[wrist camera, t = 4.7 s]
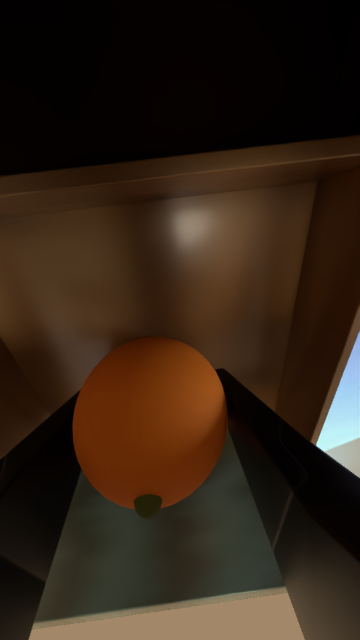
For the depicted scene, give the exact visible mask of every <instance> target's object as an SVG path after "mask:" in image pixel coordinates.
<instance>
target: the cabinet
mask: <svg viewBox="0 0 360 640" xmlns="http://www.w3.org/2000/svg"><path fill="white" fill-rule="evenodd" d="M358 134H360V0H0V176H1V175H10V174H19V173H27V172H36V171H45V170H54V169H62V168H71V167H80V166H88V165H97V164H106V163H114V162H123V161H132V160H141V159H149V158H158V157H167V156H175V155H184V154H193V153H201V152H210V151H219V150H228V149H236V148H245V147H254V146H262V145H271V144H280V143H288V142H297V141H306V140H315V139H323V138H332V137H341V136H349V135H358Z"/></svg>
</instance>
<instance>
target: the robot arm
mask: <svg viewBox="0 0 360 640" xmlns="http://www.w3.org/2000/svg"><path fill="white" fill-rule="evenodd" d="M215 371H216V373H217V375H218V377H219V379H220V381H221V384H222V386H223V390H224V393H225V397H226V401H227V410H228V426H227V427H228V430H229V433H230V436H231V438H232V441H233V444H234V447H235V449H236V452H237V455H238V458H239V460H240V463H241V466H242V468H243V471H244V474H245V477H246V479H247V482H248V485H249V488H250V490H251V493H252V496H253V499H254V501H255V504H256V507H257V509H258V512H259V515H260V518H261V520H262V523H263V526H264V529H265V531H266V534H267V537H268V540H269V542H270V545H271V548H272V550H273V553H274V556H275V559H276V562H277V564H278V567H279V570H280V573H281V575H282V578H283V581H284V583H285V586H286V589H287V592H288V594H289V597H290V599H291V602H292V605H293V608H294V611H295V614H296V616H297V619H298V622H299V624H300V627H301V630H302V632H303V635H304V638H305V640H360V478H359V477H357V476H356V475H355V474H353V473H352V472H351V471H349V470H348V469H347V468H345V467H344V466H342V465H341V464H340V463H338V462H337V461H336V460H334V459H333V458H332V457H330V456H329V455H328V454H326V453H325V452H323V451H322V450H321V449H319V448H318V447H317V446H316V445H314V444H313V443H312V442H310V441H309V440H308V439H306V438H305V437H304V436H303V435H301V434H300V433H299V432H298V431H297V430H295V429H294V428H293V427H292V426H291V425H289V424H288V423H287V422H286V421H285V420H283V419H282V418H281V417H280V416H279V415H278V414H276V413H275V412H274V411H273V410H272V409H271V408H269V407H268V406H267V405H266V404H265V403H264V402H263V401H261V400H260V399H259V398H258V397H257V396H256V395H254V394H253V393H252V392H251V391H250V390H249V389H247V388H246V387H245V386H244V385H243V384H242V383H240V382H239V381H238V380H237V379H236V378H235V377H233V376H232V375H231V374H230V373H229V372H228V371H227V370H225V369H224V368H219V369H216V370H215ZM80 391H81V389H80V390H79V391H78V392H77V393H76V394H75V395H74V396H72V397H71V398H70V399H69V400H68V401H67V402H65V403H64V404H63V405H62V406H61V407H60V408H59V409H57V410H56V411H55V412H54V413H53V414H52V415H50V416H49V417H48V418H47V419H46V420H45V421H44V422H42V423H41V424H40V425H39V426H38V427H37V428H36V429H34V430H33V431H32V432H31V433H30V434H29V435H27V436H26V437H25V438H24V439H23V440H22V441H21V442H19V443H18V444H17V445H16V446H15V447H14V448H12V449H11V450H10V451H9V452H8V453H7V454H6V455H5V456H3V457H2V458H1V459H0V640H28V639H29V636H30V633H31V630H32V627H33V624H34V620H35V617H36V614H37V611H38V608H39V604H40V601H41V598H42V595H43V592H44V588H45V585H46V581H47V578H48V575H49V572H50V569H51V566H52V562H53V559H54V556H55V553H56V550H57V546H58V543H59V540H60V537H61V534H62V530H63V527H64V524H65V521H66V518H67V514H68V511H69V508H70V505H71V502H72V498H73V495H74V492H75V489H76V486H77V483H78V479H79V476H80V473H81V470H82V469H81V467H80V464H79V462H78V460H77V456H76V452H75V448H74V444H73V426H72V425H73V416H74V410H75V406H76V402H77V398H78V396H79V393H80Z"/></svg>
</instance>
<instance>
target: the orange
mask: <svg viewBox="0 0 360 640" xmlns="http://www.w3.org/2000/svg"><path fill="white" fill-rule="evenodd" d="M72 426H73V444H74V448H75V452H76V456H77V460H78V462H79V464H80V467H81V469H82V471H83V473H84V475H85V476H86V478H87V479H88V481H89V482H90V483H91V485H92V486H93V487H94V488H95V489H96V490H97V491H98V492H99V493H100V494H102V495H103V496H104V497H105V498H107V499H108V500H110V501H112V502H114V503H116V504H118V505H120V506H122V507H126V508H130V509H135V510H136V512H137V514H138V515H139V516H140V517H141V518H144V519H149V518H152V517H154V516H155V515H156V514H157V513H158V511H159V510H160V508H164V507H167V506H170V505H173V504H175V503H177V502H179V501H181V500H182V499H184V498H186V497H187V496H189V495H190V494H192V493H193V492H194V491H195V490H196V489H197V488H198V487H199V486H200V485H201V484H202V483H203V482H204V481H205V480H206V478H207V477H208V476H209V474H210V473H211V472H212V470H213V469H214V467H215V465H216V463H217V461H218V459H219V457H220V455H221V452H222V449H223V446H224V443H225V439H226V433H227V426H228V410H227V401H226V397H225V393H224V390H223V386H222V384H221V381H220V379H219V377H218V375H217V373H216V371H215V370H214V368H213V367H212V366H211V364H210V363H209V362H208V360H207V359H206V358H205V357H204V356H203V355H202V354H200V353H199V352H198V351H197V350H195V349H194V348H192V347H191V346H189V345H187V344H185V343H183V342H181V341H178V340H175V339H172V338H167V337H144V338H139V339H136V340H133V341H130V342H127V343H125V344H123V345H121V346H119V347H117V348H116V349H114V350H113V351H111V352H110V353H109V354H107V355H106V356H105V357H104V358H103V359H102V360H101V361H100V362H99V363H98V364H97V365H96V366H95V367H94V369H93V370H92V371H91V373H90V374H89V376H88V377H87V379H86V381H85V382H84V384H83V386H82V389H81V391H80V393H79V396H78V398H77V402H76V406H75V410H74V416H73V425H72Z"/></svg>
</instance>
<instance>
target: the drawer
mask: <svg viewBox="0 0 360 640" xmlns="http://www.w3.org/2000/svg"><path fill="white" fill-rule="evenodd" d="M359 331H360V134H358V135H349V136H341V137H332V138H323V139H315V140H306V141H297V142H288V143H280V144H271V145H262V146H254V147H245V148H236V149H228V150H219V151H210V152H201V153H193V154H184V155H175V156H167V157H158V158H149V159H141V160H132V161H123V162H114V163H106V164H97V165H88V166H80V167H71V168H62V169H54V170H45V171H36V172H27V173H19V174H10V175H1V176H0V459H1V458H2V457H3V456H5V455H6V454H7V453H8V452H9V451H10V450H11V449H12V448H14V447H15V446H16V445H17V444H18V443H19V442H21V441H22V440H23V439H24V438H25V437H26V436H27V435H29V434H30V433H31V432H32V431H33V430H34V429H36V428H37V427H38V426H39V425H40V424H41V423H42V422H44V421H45V420H46V419H47V418H48V417H49V416H50V415H52V414H53V413H54V412H55V411H56V410H57V409H59V408H60V407H61V406H62V405H63V404H64V403H65V402H67V401H68V400H69V399H70V398H71V397H72V396H74V395H75V394H76V393H77V392H78V391H79V390H80V389H82V386H83V384H84V382H85V381H86V379H87V377H88V376H89V374H90V373H91V371H92V370H93V369H94V367H95V366H96V365H97V364H98V363H99V362H100V361H101V360H102V359H103V358H104V357H105V356H106V355H107V354H109V353H110V352H111V351H113V350H114V349H116V348H117V347H119V346H121V345H123V344H125V343H127V342H130V341H133V340H136V339H139V338H144V337H167V338H172V339H175V340H178V341H181V342H183V343H185V344H187V345H189V346H191V347H192V348H194V349H195V350H197V351H198V352H199V353H200V354H202V355H203V356H204V357H205V358H206V359H207V360H208V362H209V363H210V364H211V366H212V367H213V368H214V370H216V369H219V368H224V369H225V370H227V371H228V372H229V373H230V374H231V375H232V376H233V377H235V378H236V379H237V380H238V381H239V382H240V383H242V384H243V385H244V386H245V387H246V388H247V389H249V390H250V391H251V392H252V393H253V394H254V395H256V396H257V397H258V398H259V399H260V400H261V401H263V402H264V403H265V404H266V405H267V406H268V407H269V408H271V409H272V410H273V411H274V412H275V413H276V414H278V415H279V416H280V417H281V418H282V419H283V420H285V421H286V422H287V423H288V424H289V425H291V426H292V427H293V428H294V429H295V430H297V431H298V432H299V433H300V434H301V435H303V436H304V437H305V438H306V439H308V440H309V441H310V442H312V443H313V444H314V445H316V443H317V441H318V438H319V435H320V433H321V430H322V427H323V425H324V422H325V420H326V417H327V414H328V412H329V409H330V407H331V404H332V401H333V399H334V396H335V393H336V391H337V388H338V386H339V383H340V380H341V378H342V375H343V372H344V370H345V367H346V365H347V362H348V359H349V357H350V354H351V352H352V349H353V346H354V344H355V341H356V338H357V336H358V333H359ZM283 593H288V592H287V589H286V586H285V583H284V581H283V578H282V575H281V573H280V570H279V567H278V564H277V562H276V559H275V556H274V553H273V550H272V548H271V545H270V542H269V540H268V537H267V534H266V531H265V529H264V526H263V523H262V520H261V518H260V515H259V512H258V509H257V507H256V504H255V501H254V499H253V496H252V493H251V490H250V488H249V485H248V482H247V479H246V477H245V474H244V471H243V468H242V466H241V463H240V460H239V458H238V455H237V452H236V449H235V447H234V444H233V441H232V438H231V436H230V433H229V430H228V427H227V433H226V439H225V443H224V446H223V449H222V452H221V455H220V457H219V459H218V461H217V463H216V465H215V467H214V469H213V470H212V472H211V473H210V474H209V476H208V477H207V478H206V480H205V481H204V482H203V483H202V484H201V485H200V486H199V487H198V488H197V489H196V490H195V491H194V492H193V493H192V494H190V495H189V496H187V497H186V498H184V499H182V500H181V501H179V502H177V503H175V504H173V505H170V506H167V507H164V508H160V510H159V511H158V513H157V514H156V515H155V516H154V517H152V518H149V519H144V518H141V517H140V516H139V515H138V514H137V512H136V510H135V509H130V508H126V507H122V506H120V505H118V504H116V503H114V502H112V501H110V500H108V499H107V498H105V497H104V496H103V495H102V494H100V493H99V492H98V491H97V490H96V489H95V488H94V487H93V486H92V485H91V483H90V482H89V481H88V479H87V478H86V476H85V475H84V473H83V471H82V470H81V473H80V476H79V479H78V483H77V486H76V489H75V492H74V495H73V498H72V502H71V505H70V508H69V511H68V514H67V518H66V521H65V524H64V527H63V530H62V534H61V537H60V540H59V543H58V546H57V550H56V553H55V556H54V559H53V562H52V566H51V569H50V572H49V575H48V578H47V581H46V585H45V588H44V592H43V595H42V598H41V601H40V604H39V608H38V611H37V614H36V617H35V620H34V624H33V627H32V629H38V628H45V627H51V626H58V625H66V624H73V623H80V622H86V621H93V620H101V619H108V618H115V617H122V616H129V615H136V614H143V613H150V612H157V611H164V610H171V609H178V608H185V607H191V606H199V605H206V604H213V603H220V602H227V601H233V600H241V599H248V598H255V597H261V596H269V595H276V594H283Z"/></svg>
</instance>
